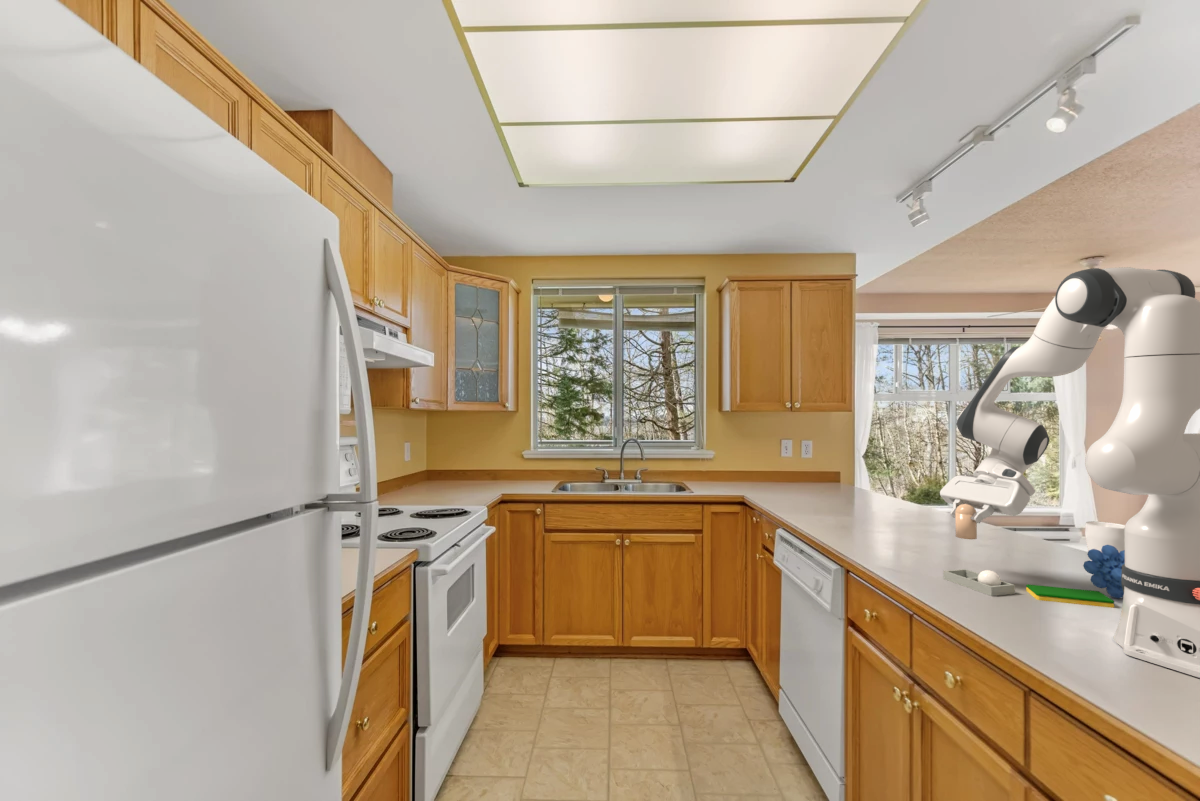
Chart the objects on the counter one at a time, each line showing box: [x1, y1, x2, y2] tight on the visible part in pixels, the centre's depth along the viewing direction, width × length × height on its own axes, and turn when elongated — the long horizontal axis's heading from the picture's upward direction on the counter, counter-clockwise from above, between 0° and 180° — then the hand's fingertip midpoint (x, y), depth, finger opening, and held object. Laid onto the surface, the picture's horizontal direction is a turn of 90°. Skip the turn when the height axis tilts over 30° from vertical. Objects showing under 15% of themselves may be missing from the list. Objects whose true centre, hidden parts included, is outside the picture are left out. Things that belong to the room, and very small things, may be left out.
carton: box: [942, 568, 1016, 597], centre depth 134 cm, size 13×7×2 cm, turn 14°
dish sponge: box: [1025, 584, 1115, 609], centre depth 125 cm, size 7×14×2 cm, turn 69°
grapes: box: [1082, 545, 1125, 599], centre depth 126 cm, size 12×7×12 cm, turn 57°
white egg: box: [978, 569, 1002, 586], centre depth 131 cm, size 5×5×5 cm
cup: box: [1084, 520, 1126, 561], centre depth 149 cm, size 9×9×12 cm
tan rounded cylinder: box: [954, 504, 978, 540], centre depth 137 cm, size 4×4×8 cm
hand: (963, 518), depth 137 cm, fingers closed on tan rounded cylinder, 4 cm apart
